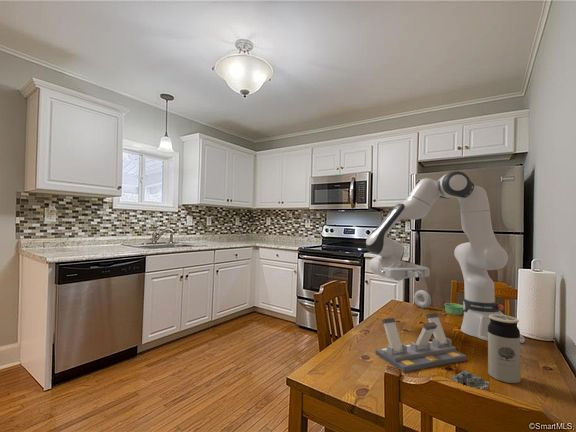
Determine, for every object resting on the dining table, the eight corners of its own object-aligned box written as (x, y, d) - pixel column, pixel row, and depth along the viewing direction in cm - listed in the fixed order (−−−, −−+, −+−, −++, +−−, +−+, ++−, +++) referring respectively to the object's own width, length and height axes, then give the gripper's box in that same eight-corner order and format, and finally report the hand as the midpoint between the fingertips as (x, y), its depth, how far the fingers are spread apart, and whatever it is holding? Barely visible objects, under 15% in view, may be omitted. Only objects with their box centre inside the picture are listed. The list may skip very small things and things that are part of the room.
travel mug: (489, 368, 97) (489, 312, 97) (520, 376, 92) (520, 317, 92) (486, 378, 91) (486, 317, 91) (520, 387, 85) (519, 323, 86)
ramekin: (466, 316, 154) (466, 308, 154) (447, 315, 156) (447, 306, 156) (460, 311, 163) (460, 303, 163) (442, 310, 165) (442, 302, 165)
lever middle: (413, 346, 105) (424, 323, 100) (422, 344, 106) (434, 322, 102) (416, 350, 104) (427, 326, 99) (425, 348, 105) (437, 325, 101)
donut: (432, 309, 166) (432, 291, 166) (428, 310, 164) (428, 292, 164) (416, 305, 174) (416, 288, 175) (412, 306, 173) (412, 288, 173)
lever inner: (436, 345, 108) (425, 315, 113) (445, 344, 109) (434, 314, 114) (439, 345, 106) (428, 314, 112) (448, 343, 108) (437, 313, 113)
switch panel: (375, 353, 107) (375, 339, 107) (433, 344, 116) (433, 331, 116) (403, 372, 93) (403, 355, 94) (466, 360, 103) (466, 345, 103)
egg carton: (473, 405, 77) (473, 389, 77) (444, 392, 83) (444, 377, 83) (492, 392, 83) (492, 377, 83) (464, 381, 89) (463, 367, 89)
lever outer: (391, 352, 101) (381, 319, 106) (401, 351, 102) (391, 318, 107) (393, 352, 100) (384, 318, 105) (404, 350, 101) (394, 317, 106)
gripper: (376, 263, 128) (399, 267, 115) (414, 262, 135) (440, 266, 122) (376, 278, 128) (399, 284, 115) (414, 276, 135) (439, 282, 122)
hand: (420, 275), depth 118 cm, fingers closed
